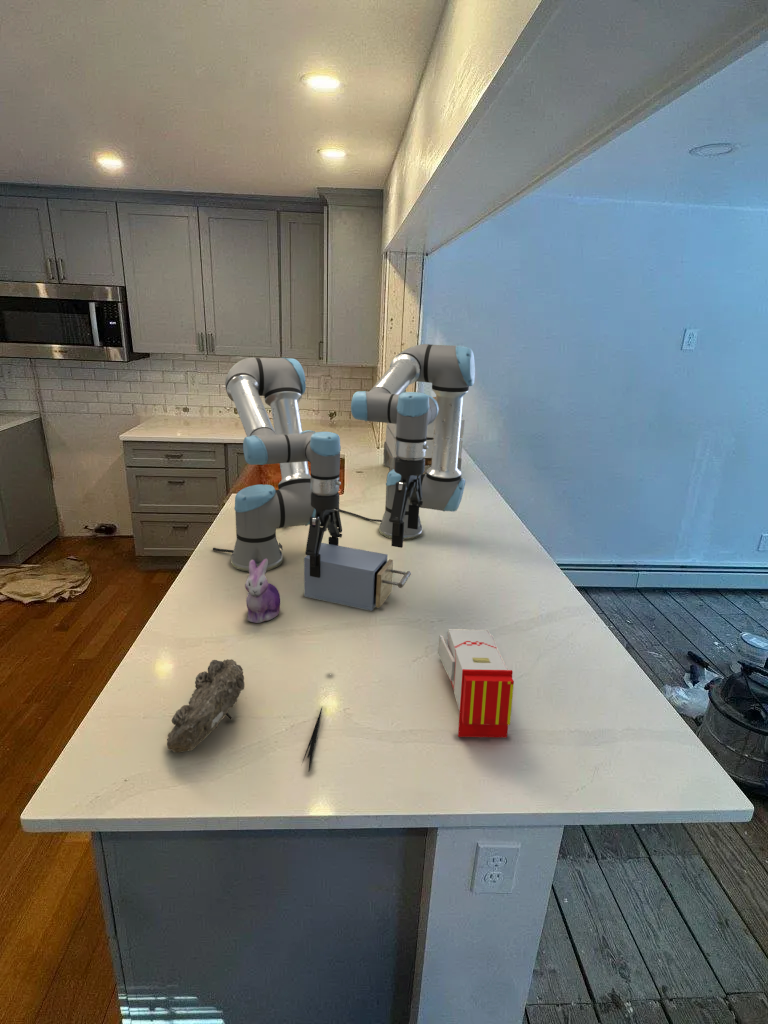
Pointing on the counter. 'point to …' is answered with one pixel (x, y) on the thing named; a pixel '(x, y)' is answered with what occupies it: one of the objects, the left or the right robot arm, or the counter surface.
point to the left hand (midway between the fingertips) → (324, 567)
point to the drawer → (387, 582)
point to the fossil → (206, 705)
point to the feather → (313, 740)
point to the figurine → (261, 594)
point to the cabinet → (344, 576)
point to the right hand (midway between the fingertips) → (405, 537)
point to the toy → (478, 682)
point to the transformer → (391, 439)
